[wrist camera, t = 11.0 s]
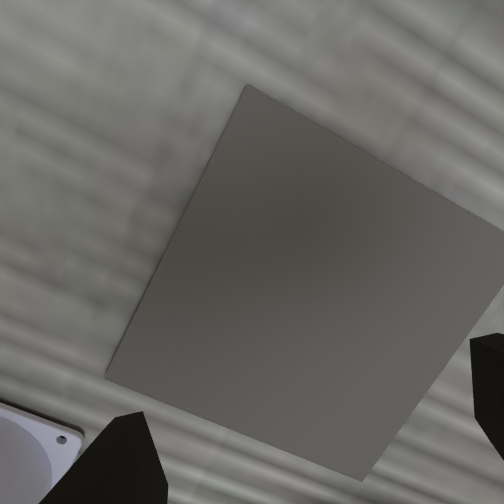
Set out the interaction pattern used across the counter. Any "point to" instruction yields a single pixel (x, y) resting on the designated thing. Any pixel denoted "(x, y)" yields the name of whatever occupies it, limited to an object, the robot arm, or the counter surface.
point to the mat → (308, 292)
